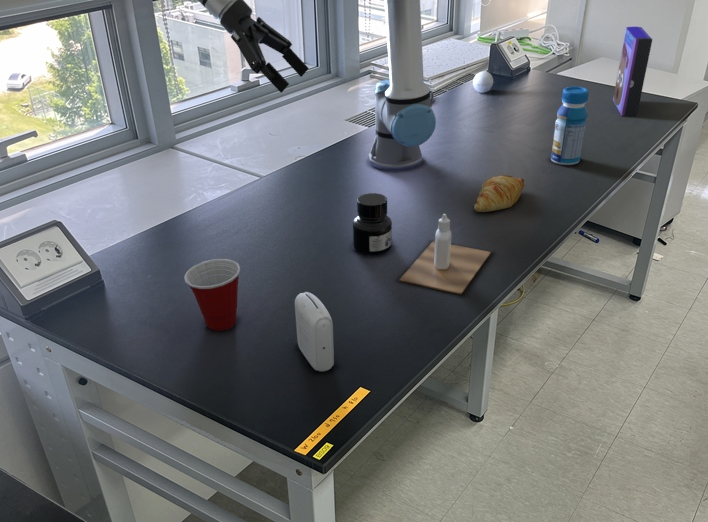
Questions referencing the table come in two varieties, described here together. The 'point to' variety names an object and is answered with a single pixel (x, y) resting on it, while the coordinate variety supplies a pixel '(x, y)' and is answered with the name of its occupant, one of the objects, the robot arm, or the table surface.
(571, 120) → the beverage bottle
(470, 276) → the wooden board
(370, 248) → the ink bottle
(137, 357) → the table surface
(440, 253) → the eye dropper bottle
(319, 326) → the photo printer
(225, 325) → the plastic cup
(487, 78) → the white ovoid
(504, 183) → the croissant
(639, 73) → the cereal box
